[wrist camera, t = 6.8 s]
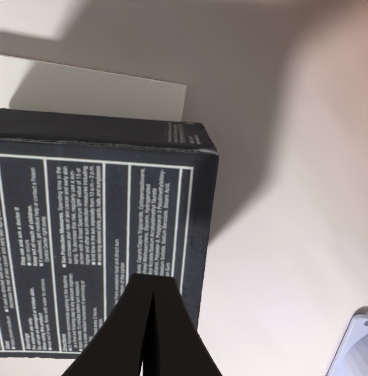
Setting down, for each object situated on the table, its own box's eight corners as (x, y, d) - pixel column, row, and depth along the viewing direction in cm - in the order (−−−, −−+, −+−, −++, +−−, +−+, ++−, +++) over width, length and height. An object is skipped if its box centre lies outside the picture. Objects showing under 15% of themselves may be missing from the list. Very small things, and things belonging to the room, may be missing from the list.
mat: (185, 85, 17) (186, 86, 16) (157, 267, 22) (156, 278, 20) (-15, 51, 16) (-28, 50, 15) (-3, 249, 21) (-13, 260, 19)
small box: (203, 118, 17) (0, 101, 16) (224, 148, 11) (-100, 123, 10) (185, 281, 21) (20, 274, 20) (194, 370, 15) (-44, 366, 14)
